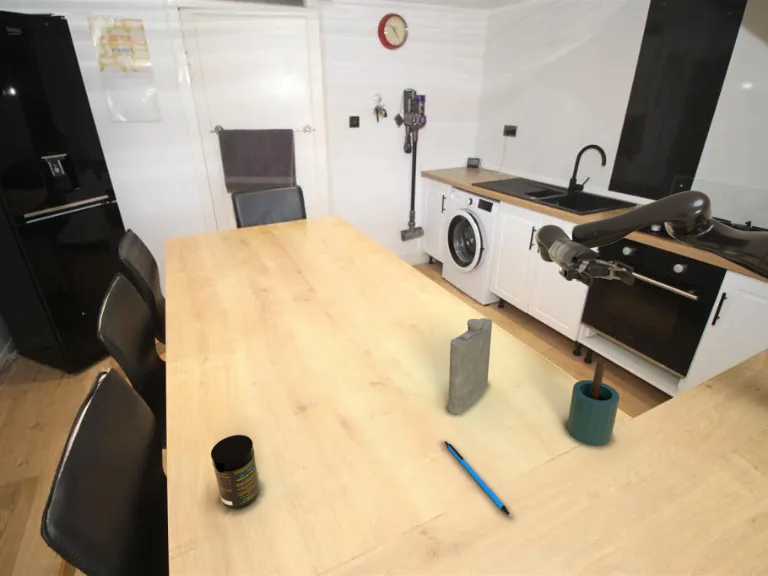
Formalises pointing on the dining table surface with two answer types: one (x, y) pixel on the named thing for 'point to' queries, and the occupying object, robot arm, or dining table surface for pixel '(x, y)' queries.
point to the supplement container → (236, 471)
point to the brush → (597, 379)
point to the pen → (477, 478)
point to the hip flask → (469, 365)
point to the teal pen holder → (592, 414)
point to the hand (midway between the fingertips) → (612, 281)
